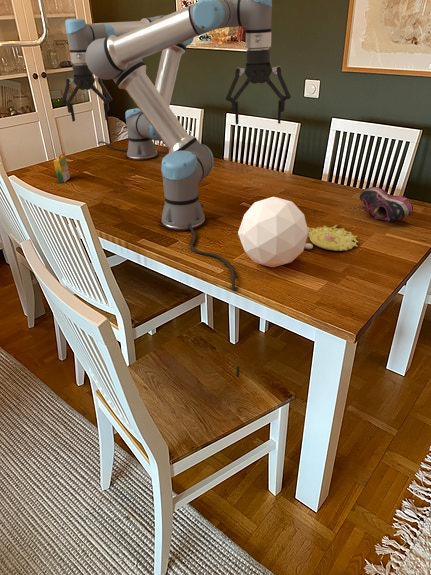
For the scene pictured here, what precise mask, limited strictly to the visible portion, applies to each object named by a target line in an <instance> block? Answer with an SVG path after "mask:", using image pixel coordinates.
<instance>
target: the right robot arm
mask: <svg viewBox="0 0 431 575" xmlns="http://www.w3.org/2000/svg"><path fill="white" fill-rule="evenodd" d="M272 13H273V1H272V0H197V1H196V2H195V3H192V4H190V5H188V6H186V7H183V8H180V9H178V10H177V11H174V12H172V13H170V14H166V15H167V16H164V17H162V18H160V19H158V20H155V21H153V22H151V23H148V24H146V25H144V26H141V27H139V28H137V29H134V30H132V31H130V32H128V33H125V34H123V35H121V36H115V35H110V36H108V37H106V38H101V39H97V40H95V41H93V42H92V43H91V44H90V45H89V46H88V48H87V51H86V63H87V66H88V68H89V70H90V71H91V72H92V73H93V76H95V78H100V79H102V80H104V81H105V80H108V81H109V80H112V81H113V82H114V83H115V84H116V86H117V87H118V89H121V90H125V91H126V92H127V94H128V95H129V96H130V98H131V99H132V100H133V102H134V103H135V105H136V106H137V107H138V108H139V109H140V110H141V111H142V113H143V114H144V116H145V117H146V118H147V120H148V121H149V122H150V124H151V125H152V127H153V128H154V129H155V131H156V132H157V134H158V135H159V136H160V138H161V139H162V141H161V142H163V144H164V145H165V146H166V148H167V149H168V153H167V154H166V155H165V156H164V157H163V158H162V160H161V176H162V184H163V194H164V204H163V209H162V213H161V219H160V220H161V225H162V227H163V228H165V229H167V230H170V231H175V232H176V231H177V232H185V231H186V232H187V231H190V232H191V233H192V236H193V239H192V241H191V242H190V245H189V247H190V249H191V250H192V251H193V252H194V253H197V254H199V255H202V256H203V255H204V256H208V257H213V258H215V259H218V260H220V261H221V262H223V263H224V264H226V265H227V267H228V268H229V270H230V272H231V290H232V292H236V291H237V290H236V272H235V269H234V267H233V266H232V264H231V263H230V262H229V261H228V260H227V259H225V258H224V257H222V256H221V255H219V254H216V253H213V252H207V251H202V250H199V249H197V248H195V246H194V245H195V243H196V242H197V233H196V232H195V229H198V228H201V227H202V226H203V225H204V224H205V223H206V217H205V212H204V210H203V209H204V204H203V203H201V202H200V196H199V184H200V183H201V182H202V181H204V179H206V177H208V176H209V174H210V173H211V171H212V170H213V167H214V164H215V163H214V162H215V159H214V155H213V152H212V150H211V149H210V148H209V147H208V146H207V145H206V144H203V143H201V142H200V141H199V140H198V139H197V137H196V136H195V135H190V134H189V133H188V132H187V130H186V129H185V128H184V126H183V125H182V123H181V122H180V120H179V119H178V117H177V116H176V115H175V114H174V112H173V110H172V109H171V108H170V106H168V105H167V103H166V102H165V101H164V99H163V98H162V96H161V95H160V93H159V92H158V91H157V89H156V88H155V84H153V82H152V81H151V79H150V78H149V76H148V75H147V65H146V64H145V62H144V61H143V59H144V58H147V57H150V56H152V55H154V54H157V53H159V52H162V50H164V49H167V48H169V47H172V46H174V45H177V44H179V43H182V42H184V41H187V40H189V39H192V38H194V39H195V38H196V37H199V36H202V35H204V34H207V33H210V32H212V31H215V30H219V29H225V28H237V27H238V28H239V27H240V28H242V27H243V28H244V27H245V48H246V51H245V68H244V67H243V68H241V67H239V66H237V67H236V68H235V73H234V78H233V80H232V83H231V85H230V87H229V90H228V92H227V94H226V96H225V101H226V102H227V101H228V102H230V103H231V113H232V114H234V116H235V117H234V118H235V125H239V122H240V121H239V101H238V99H239V97H240V96H241V95H242V93H243V92H244V91H245V89H246V88H247V87H248V85H249V84H250V83H251V84H264V83H266V84H267V85H268V86H269V87H270V88H271V90H272V91H273V92H274V93H275V95H276V96H277V97H278V98H279V100H278V102H277V104H278V106H277V124H280V125H281V116H282V115H281V114H282V113H284V112H285V106H286V105H285V103H286V101H287V100H290V99H291V98H292V96H291V93H290V90H289V88H288V86H287V84H286V82H285V79H284V77H283V74H282V67H281V66H280V65H277V66H274V67H273V66H272V50H271V49H270V48H271V47H272V18H273V17H272V16H273V15H272ZM272 73H274V75H276V76H277V78H278V80H279V83H280V85H281V87H282V90H283V92H284V94H283V93H282V92H281V90H280V89H279V88H278V87H277V85H276V84H275V83H274V81H273V80H272V79H271V77H270V76H271V74H272ZM243 74H245V76H246V77H247V78H246V79H245V80H244V82H243V83H242V85H241V86H240V88H238V90H237V91H236V92H235V94H234V96H232V95H233V92H234V90H235V88H236V86H237V83H238V81H239V79H240V77H241V76H242V75H243ZM235 371H236V376H237V377H239V378H240V366H236V370H235Z"/></svg>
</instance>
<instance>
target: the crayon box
mask: <svg viewBox="0 0 431 575" xmlns="http://www.w3.org/2000/svg"><path fill="white" fill-rule="evenodd" d="M53 166H54V170H55V174H56V177H57V182H58V183H59V184H65V183H66V182H67V181H68V180H69V179H70V178H71V175H70V170H69V167H68V162H67V157H66V153H65V151H63V152H62V153H61V154H60V155H59V156H58V157H57V158H56V159H54V160H53Z"/></svg>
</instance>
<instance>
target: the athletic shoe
mask: <svg viewBox="0 0 431 575" xmlns="http://www.w3.org/2000/svg"><path fill="white" fill-rule="evenodd" d="M359 200H360V201H361V202H362V204H363V206H360V207H359V209H361V210H366V211H367V213H368V214H369V216H373V217H374V219H375V220H377V221H386V222H388V223H393V222H396V221H398V220H402V219H404V218H407V217H410V216H412V215H413V214H414V205H413V203H412V201H411V200H409V199H408V197H406V196H404V195H394V196H391V195H389V194H388V192H387V191H386V190H385V189H384V188H380V187H378V186H370V187H366V189H364V190H363V191H362V192H360V195H359Z"/></svg>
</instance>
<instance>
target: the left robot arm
mask: <svg viewBox="0 0 431 575" xmlns="http://www.w3.org/2000/svg"><path fill="white" fill-rule="evenodd" d="M167 15H168V14H161V15H156V16H153V17H144V18H141V19H140V20H136V21H135V20H134V21H133V20H132V21H115V22H114V21H113V22H97V23H95V22H94V23H93V22H92V23H86V20H85V19H84V18H67V19H66V20H65V22H64V24H65V33H66V34H65V35H66V38H67V43H68V44H67V45H68V49H69V56H70V61H71V64H72V66H71V68H72V73H73V78H70V77H67V78H66V79H65V83H66V84H65V88H64V91H63V94H62V99H61V103H62V104H65V105H66V108H67V112H68V113H69V114H70V116H71V120H72V122H76V116H75V110H74V104H73V103H72V101H73V100H74V98H75V96H76V95H77V94H78V91H79V90H81V91H85V90H86V91H89V90H92V91H93V92H94V93H95V94H96V95H97V96H98V98H99V99H101V100H102V101H103V104H102V105H103V106H102V107H103V112H104V113H103V114H104V120H105V121H108V112H109V111H110V106H109V103H112V101H113V97H112V96H111V94H110V93H109V91H108V89H107V87H106V86H105V84H104V83H103V79H100V78H98V77H94V74H93V73H92V72H91V71H90V70H89V68H88V66H87V63H86V51H87V48H88V46H89V45H90V44H91V43H92V42H93V41H95V40H97V39H101V38H106V37H108V36H110V35H115V36H121V35H123V34H125V33H128V32H130V31H132V30H134V29H137V28H139V27H141V26H144V25H146V24H148V23H151V22H153V21H155V20H158V19H160V18H162V17H164V16H167ZM194 39H195V37H194V38H192V39H189V40H187V41H184V42H182V43H179V44H177V45H174V46H172V47H169V48H167V49H164V50H162V51H161V55H160V59H159V63H158V64H159V65H158V70H157V74H156V78H155V82H154V86H155V88H156V89H157V91H158V92H159V93H160V95H161V96H162V98H163V99H164V101H165V102H166V103H167V105H168V106H169V107H170V105H171V102H172V98H173V92H174V87H175V85H176V80H177V75H178V71H179V66H180V63H181V62H180V61H181V58H182V55H184V54H185V53H186V51H187V47H188V46H189V45H191V44H192V43H193V41H194ZM95 82H96V84H98V85H99V87H100V89H101V90H102V92H101V91H100V90H99V89H98V88H97V87H96V85H94V84H95ZM73 83H74V84H75V88H74V89H73V91H72V93H71V95H70V96H69V98H68V95H69V91H70V88H71V85H72V84H73ZM104 95H105V96H104ZM67 98H68V99H67ZM125 122H126V131H127V138H128V144H127V149H125V148H119V147H115V146H112V145H111V143H109V142H106V141H103V140H100V141H98V142H97V145H100V144H104V145H107V146H108V147H109V148H111V149H113V150H117V151H122V152H126V157H127V159H129V160H131V161H146V160H151V159H154V158H157V156H158V150H157V149H156V146H155V144H154V141H155V142H156V141H157V142H163V141H162V139H161V138H160V136H159V135H158V134H157V132H156V131H155V129H154V128H153V127H152V125H151V124H150V122H149V121H148V120H147V118H146V117H145V116H144V114H143V113H142V111H141V110H140V109H139V107H138V108H137V107H136V108H130V109H127V110H126V111H125Z"/></svg>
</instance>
